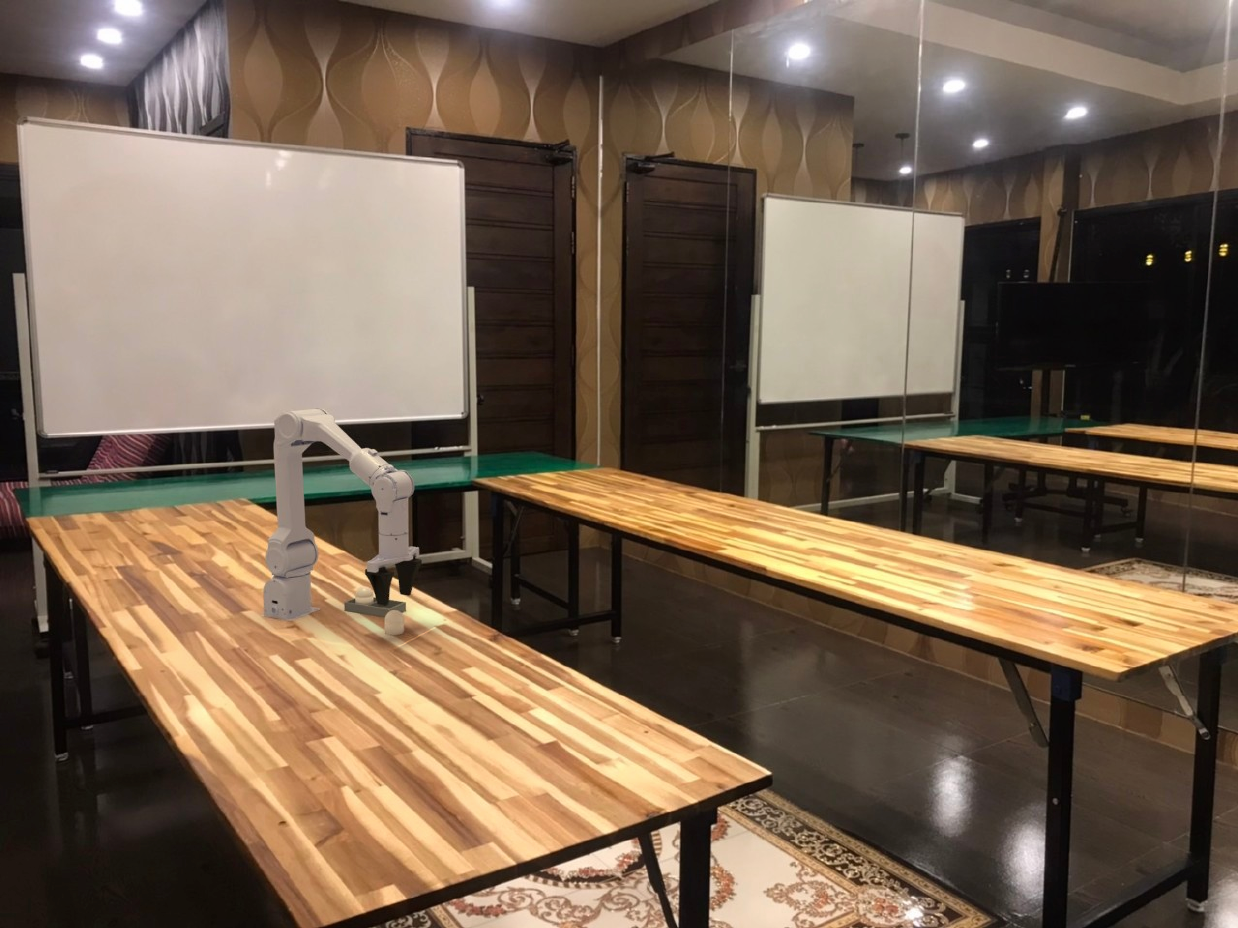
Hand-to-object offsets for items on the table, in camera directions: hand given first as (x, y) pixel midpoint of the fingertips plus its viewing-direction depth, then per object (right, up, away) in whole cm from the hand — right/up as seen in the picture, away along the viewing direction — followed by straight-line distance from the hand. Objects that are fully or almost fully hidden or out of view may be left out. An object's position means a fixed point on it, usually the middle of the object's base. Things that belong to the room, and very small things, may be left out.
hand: (394, 599), depth 186 cm
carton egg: (-10, -4, +16) cm, 19 cm away
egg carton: (-8, -5, +15) cm, 17 cm away
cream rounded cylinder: (0, -7, +1) cm, 7 cm away
